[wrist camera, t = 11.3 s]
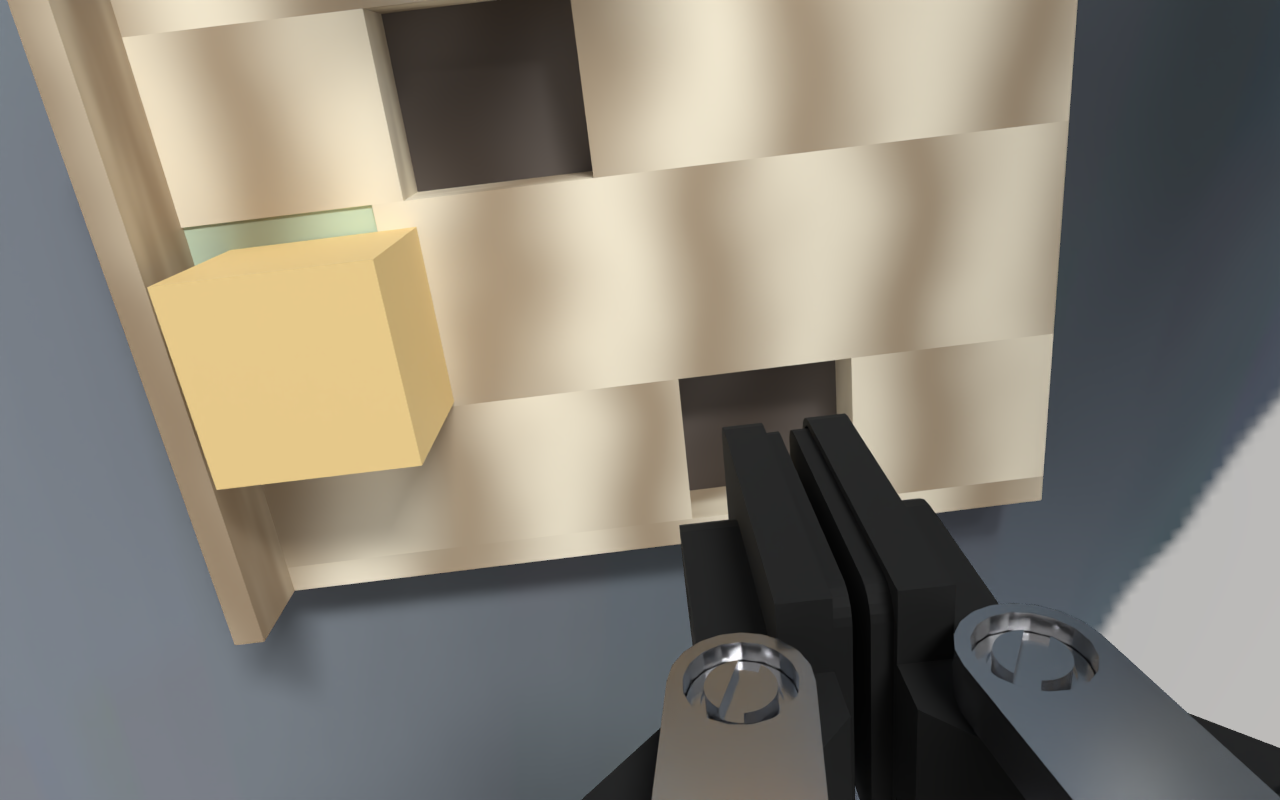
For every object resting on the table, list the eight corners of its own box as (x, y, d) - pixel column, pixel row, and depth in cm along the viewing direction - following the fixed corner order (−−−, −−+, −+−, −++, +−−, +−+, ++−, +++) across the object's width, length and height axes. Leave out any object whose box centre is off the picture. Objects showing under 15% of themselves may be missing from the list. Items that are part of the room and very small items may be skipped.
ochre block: (416, 226, 26) (373, 259, 22) (454, 401, 28) (421, 465, 24) (229, 249, 26) (147, 287, 22) (282, 422, 29) (216, 490, 24)
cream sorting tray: (1042, -101, 26) (1151, -145, 21) (1010, 470, 33) (1085, 541, 28) (122, 10, 26) (4, -7, 21) (291, 557, 33) (234, 645, 28)
